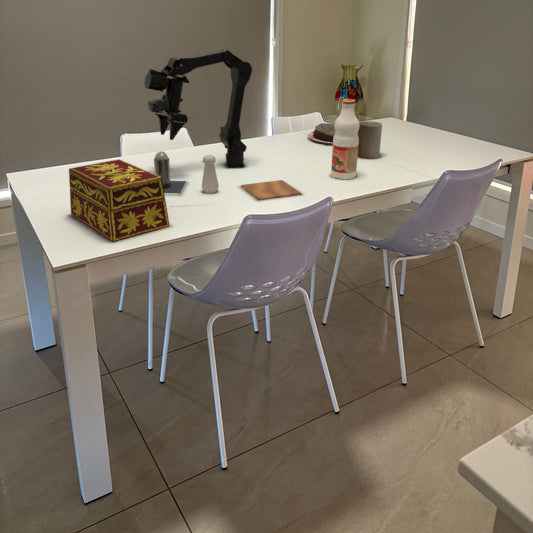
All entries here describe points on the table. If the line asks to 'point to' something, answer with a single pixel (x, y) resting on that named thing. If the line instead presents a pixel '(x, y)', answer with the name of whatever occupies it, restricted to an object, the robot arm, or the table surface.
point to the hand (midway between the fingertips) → (166, 137)
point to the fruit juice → (345, 142)
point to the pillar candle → (369, 139)
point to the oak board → (270, 190)
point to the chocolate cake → (323, 133)
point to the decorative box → (117, 199)
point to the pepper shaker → (163, 168)
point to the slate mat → (175, 187)
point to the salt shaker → (209, 175)
